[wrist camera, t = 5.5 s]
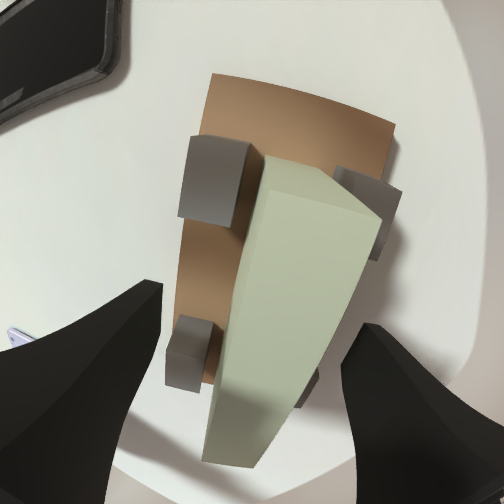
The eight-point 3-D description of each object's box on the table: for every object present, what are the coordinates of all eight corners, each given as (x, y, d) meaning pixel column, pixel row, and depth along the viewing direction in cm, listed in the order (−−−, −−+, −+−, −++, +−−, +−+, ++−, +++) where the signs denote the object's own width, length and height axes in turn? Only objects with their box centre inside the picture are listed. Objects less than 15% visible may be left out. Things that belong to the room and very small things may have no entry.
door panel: (256, 364, 14) (253, 468, 9) (218, 357, 14) (201, 461, 9) (318, 168, 10) (382, 220, 5) (265, 154, 10) (269, 189, 4)
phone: (-47, 56, 6) (122, -57, 6) (-37, 56, 7) (131, -48, 7) (-50, 156, 10) (111, 74, 9) (-40, 152, 11) (123, 77, 10)
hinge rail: (288, 383, 16) (291, 430, 13) (173, 362, 16) (159, 408, 13) (385, 123, 10) (429, 126, 7) (216, 77, 10) (197, 57, 6)
